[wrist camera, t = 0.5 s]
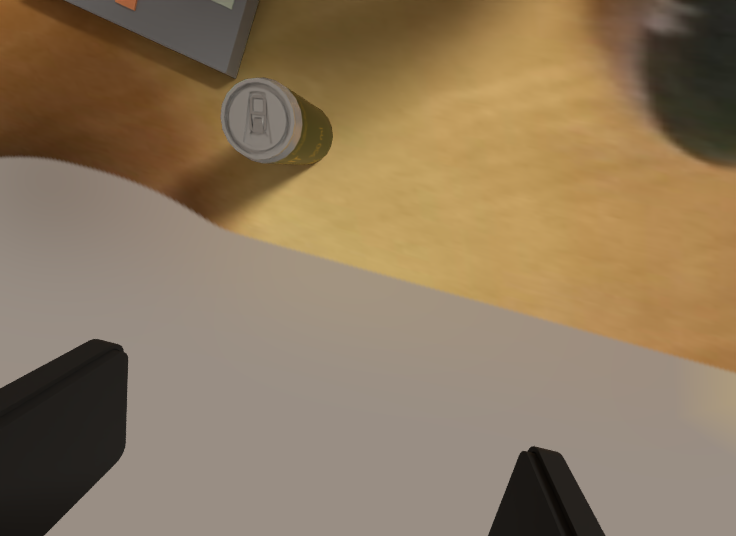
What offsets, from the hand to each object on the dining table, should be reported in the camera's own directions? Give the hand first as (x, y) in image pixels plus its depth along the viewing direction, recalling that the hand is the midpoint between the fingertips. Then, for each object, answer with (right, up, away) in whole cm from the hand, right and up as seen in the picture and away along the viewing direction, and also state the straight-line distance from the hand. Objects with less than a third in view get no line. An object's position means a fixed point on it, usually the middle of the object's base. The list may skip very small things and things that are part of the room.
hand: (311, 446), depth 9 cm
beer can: (-4, +17, +27) cm, 32 cm away
